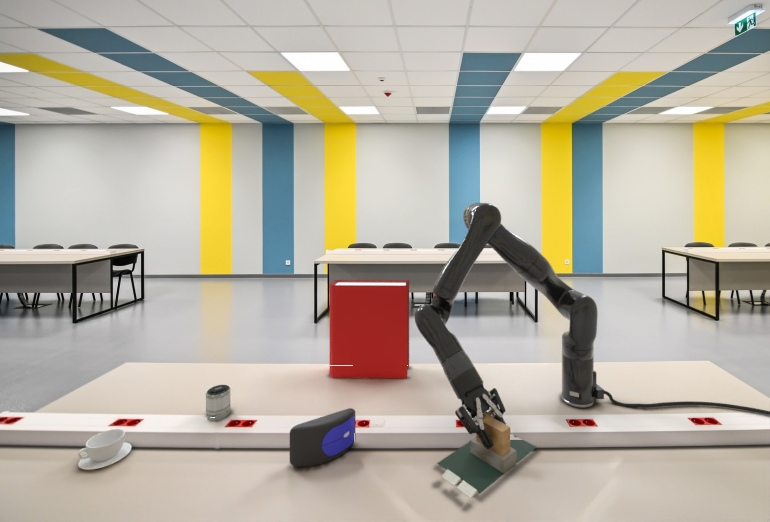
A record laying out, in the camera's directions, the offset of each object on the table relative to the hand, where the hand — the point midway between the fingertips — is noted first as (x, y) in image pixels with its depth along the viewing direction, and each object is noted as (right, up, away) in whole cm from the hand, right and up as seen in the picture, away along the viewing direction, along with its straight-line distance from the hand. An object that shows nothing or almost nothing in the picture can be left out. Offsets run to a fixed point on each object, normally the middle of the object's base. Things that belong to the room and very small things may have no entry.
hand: (499, 441), depth 94 cm
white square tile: (-12, -5, -6) cm, 15 cm away
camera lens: (-78, -6, +21) cm, 81 cm away
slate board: (-2, -6, +2) cm, 7 cm away
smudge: (-9, -5, -9) cm, 14 cm away
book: (-38, -6, +48) cm, 62 cm away
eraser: (-1, -5, +1) cm, 5 cm away
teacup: (-95, -6, +3) cm, 96 cm away
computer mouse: (-42, -6, +4) cm, 43 cm away
